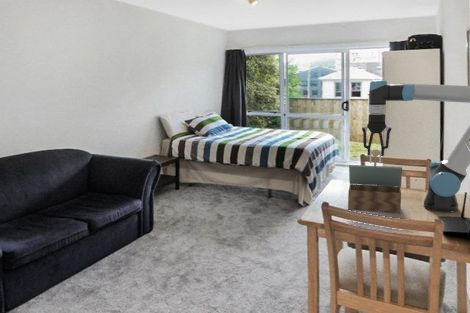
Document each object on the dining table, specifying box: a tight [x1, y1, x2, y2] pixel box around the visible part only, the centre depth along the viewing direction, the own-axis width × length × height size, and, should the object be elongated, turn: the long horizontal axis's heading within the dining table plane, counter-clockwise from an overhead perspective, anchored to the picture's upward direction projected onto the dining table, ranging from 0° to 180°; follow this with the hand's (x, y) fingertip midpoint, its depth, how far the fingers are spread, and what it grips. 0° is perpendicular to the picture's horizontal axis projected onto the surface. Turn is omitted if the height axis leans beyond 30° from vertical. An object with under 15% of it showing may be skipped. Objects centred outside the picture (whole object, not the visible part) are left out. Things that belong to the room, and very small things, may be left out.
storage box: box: [347, 184, 402, 214], centre depth 200 cm, size 24×12×10 cm, turn 71°
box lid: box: [348, 148, 403, 188], centre depth 198 cm, size 25×23×4 cm
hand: (375, 162), depth 193 cm, fingers closed on box lid, 4 cm apart
